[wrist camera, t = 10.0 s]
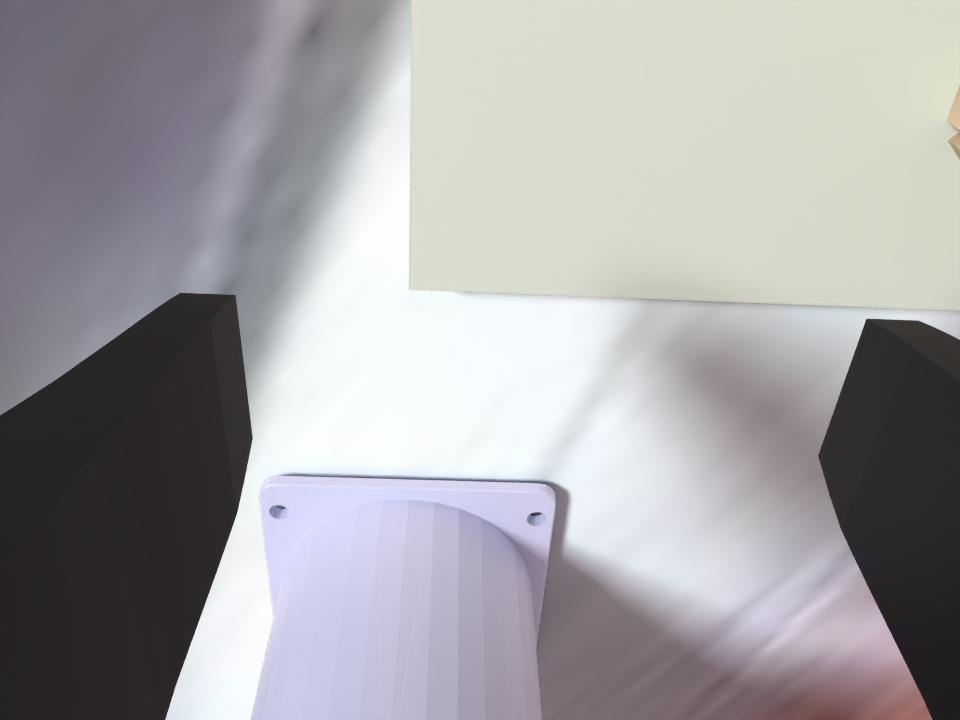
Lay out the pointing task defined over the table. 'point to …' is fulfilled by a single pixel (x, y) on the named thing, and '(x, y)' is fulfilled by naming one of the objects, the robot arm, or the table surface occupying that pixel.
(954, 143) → the bead
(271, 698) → the robot arm
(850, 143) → the board
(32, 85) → the table surface
